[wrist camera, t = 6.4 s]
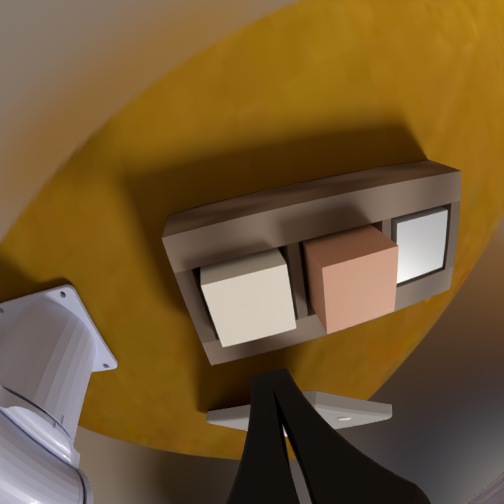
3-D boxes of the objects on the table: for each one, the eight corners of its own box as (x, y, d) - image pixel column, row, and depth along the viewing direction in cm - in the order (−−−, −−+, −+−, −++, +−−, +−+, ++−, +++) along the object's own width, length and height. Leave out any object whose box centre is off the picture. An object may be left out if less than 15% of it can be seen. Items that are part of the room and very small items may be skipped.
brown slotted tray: (208, 330, 21) (211, 365, 18) (168, 214, 17) (161, 238, 14) (424, 267, 22) (449, 288, 19) (428, 159, 18) (461, 170, 15)
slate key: (373, 262, 21) (394, 284, 18) (372, 207, 19) (397, 223, 16) (418, 248, 21) (442, 266, 18) (420, 196, 19) (447, 210, 16)
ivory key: (218, 315, 19) (222, 347, 16) (200, 257, 17) (200, 285, 14) (283, 298, 19) (296, 328, 17) (272, 239, 17) (286, 263, 15)
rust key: (310, 302, 18) (327, 334, 16) (302, 241, 16) (321, 267, 14) (370, 284, 18) (394, 311, 16) (370, 224, 17) (398, 245, 14)
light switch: (202, 430, 25) (310, 421, 15) (212, 374, 28) (314, 329, 18) (276, 442, 28) (393, 429, 18) (281, 393, 31) (390, 358, 21)
